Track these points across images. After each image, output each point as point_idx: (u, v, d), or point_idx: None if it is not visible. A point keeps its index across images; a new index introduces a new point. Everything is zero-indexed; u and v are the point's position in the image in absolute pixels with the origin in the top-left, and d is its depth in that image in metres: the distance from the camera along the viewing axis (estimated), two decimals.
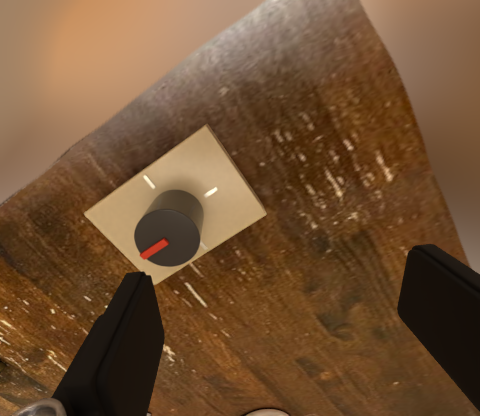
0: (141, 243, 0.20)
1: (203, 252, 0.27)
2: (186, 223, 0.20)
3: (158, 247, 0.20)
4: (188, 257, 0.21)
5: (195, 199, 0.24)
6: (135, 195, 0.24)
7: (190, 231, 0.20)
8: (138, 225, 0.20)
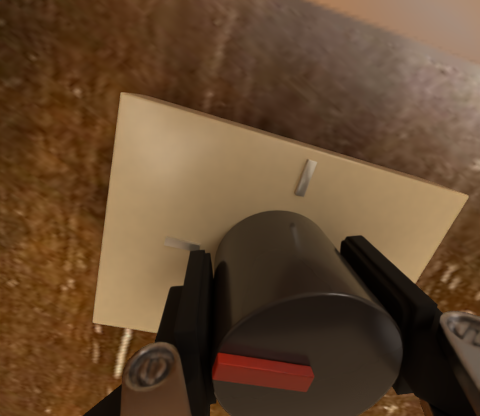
0: (251, 337, 0.06)
1: None
2: (382, 377, 0.07)
3: (279, 382, 0.06)
4: None
5: None
6: (256, 171, 0.10)
7: (365, 395, 0.07)
8: (304, 299, 0.06)
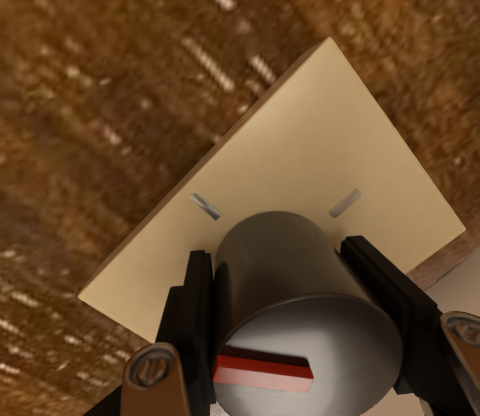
0: (251, 339, 0.06)
1: (197, 180, 0.10)
2: (382, 378, 0.07)
3: (279, 384, 0.06)
4: None
5: None
6: None
7: (365, 395, 0.07)
8: (303, 301, 0.06)
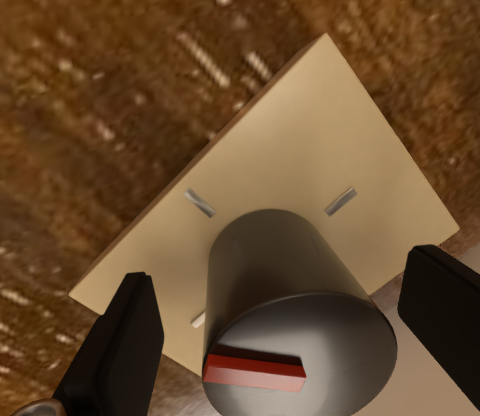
0: (242, 338, 0.06)
1: (191, 177, 0.10)
2: (376, 376, 0.07)
3: (271, 383, 0.06)
4: None
5: None
6: None
7: (359, 394, 0.07)
8: (295, 299, 0.06)
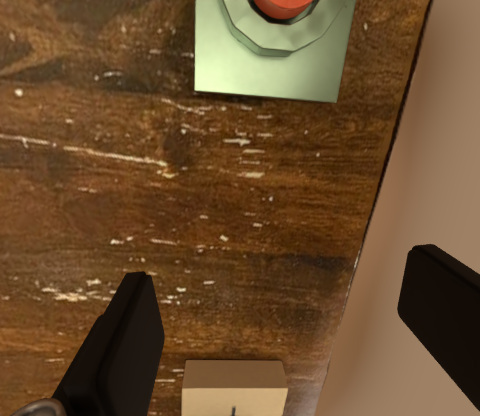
0: None
1: None
2: None
3: None
4: None
5: None
6: None
7: None
8: None
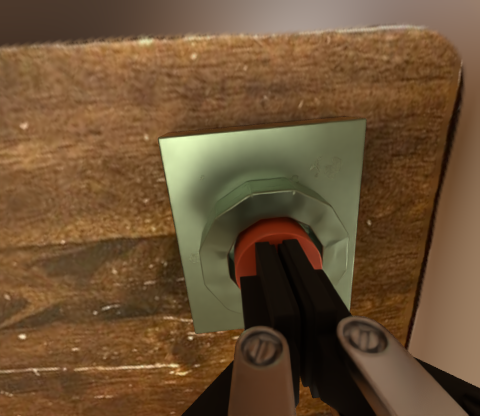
0: None
1: None
2: None
3: None
4: None
5: None
6: None
7: None
8: None
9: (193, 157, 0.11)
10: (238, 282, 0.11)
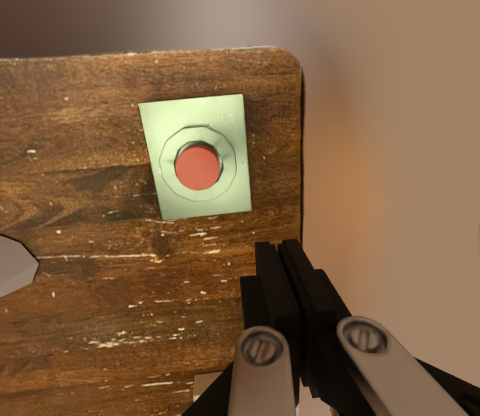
0: None
1: None
2: None
3: None
4: None
5: None
6: None
7: None
8: None
9: (156, 113, 0.23)
10: (177, 175, 0.21)
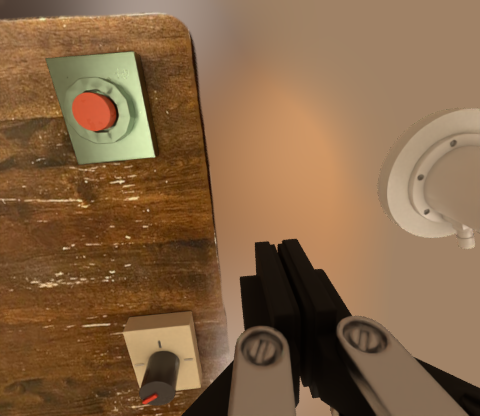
0: (143, 396, 0.37)
1: (133, 362, 0.42)
2: (167, 386, 0.37)
3: (152, 399, 0.37)
4: (169, 400, 0.38)
5: (174, 357, 0.41)
6: (185, 350, 0.41)
7: (169, 390, 0.37)
8: (141, 389, 0.37)
9: (61, 67, 0.27)
10: (74, 116, 0.26)
